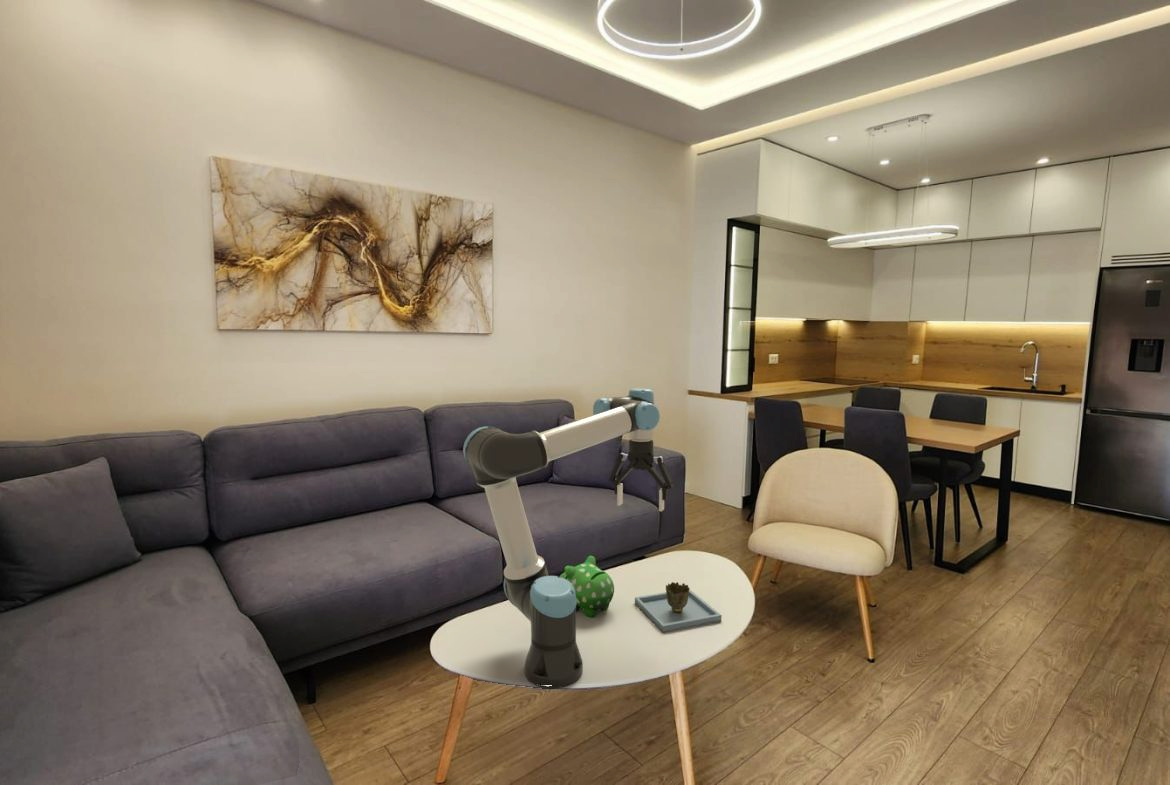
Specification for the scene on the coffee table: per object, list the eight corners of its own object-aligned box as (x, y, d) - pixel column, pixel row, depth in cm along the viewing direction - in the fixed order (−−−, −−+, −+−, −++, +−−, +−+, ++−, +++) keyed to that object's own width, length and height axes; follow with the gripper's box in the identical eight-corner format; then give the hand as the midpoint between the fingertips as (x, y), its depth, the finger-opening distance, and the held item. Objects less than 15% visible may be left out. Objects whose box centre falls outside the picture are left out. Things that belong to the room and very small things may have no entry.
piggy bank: (580, 593, 196) (580, 550, 195) (622, 609, 185) (622, 564, 183) (551, 607, 186) (550, 563, 184) (594, 626, 174) (594, 578, 173)
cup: (662, 613, 180) (662, 589, 180) (669, 603, 187) (669, 580, 186) (685, 618, 177) (685, 594, 176) (691, 608, 184) (692, 584, 183)
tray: (663, 632, 170) (663, 626, 170) (634, 603, 189) (634, 597, 188) (721, 621, 177) (721, 615, 176) (688, 594, 195) (688, 588, 195)
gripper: (684, 440, 173) (683, 509, 175) (608, 434, 184) (608, 499, 186) (677, 444, 167) (676, 515, 169) (598, 438, 177) (598, 505, 179)
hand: (640, 507), depth 177 cm, fingers open, 13 cm apart
